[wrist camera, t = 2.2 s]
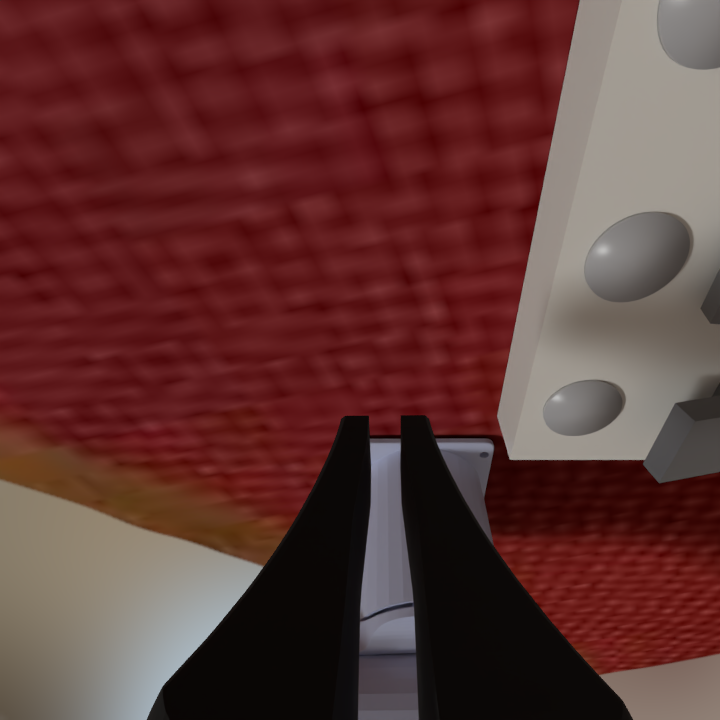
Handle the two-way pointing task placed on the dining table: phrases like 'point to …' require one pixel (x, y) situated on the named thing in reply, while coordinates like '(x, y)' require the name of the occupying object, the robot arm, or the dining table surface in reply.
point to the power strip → (622, 239)
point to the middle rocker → (713, 302)
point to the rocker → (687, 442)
